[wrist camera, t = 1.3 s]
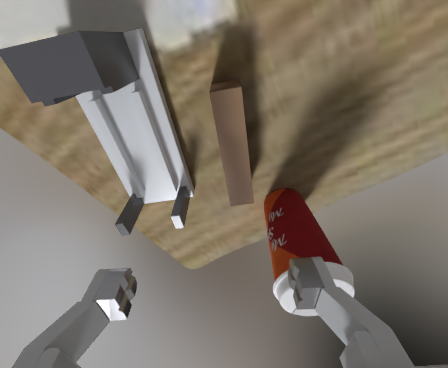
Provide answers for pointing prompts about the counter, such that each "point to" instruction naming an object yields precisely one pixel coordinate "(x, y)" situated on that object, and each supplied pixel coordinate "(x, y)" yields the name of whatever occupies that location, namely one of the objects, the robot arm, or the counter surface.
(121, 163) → the endcap frame
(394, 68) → the counter surface
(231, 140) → the slat
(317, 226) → the coffee cup
